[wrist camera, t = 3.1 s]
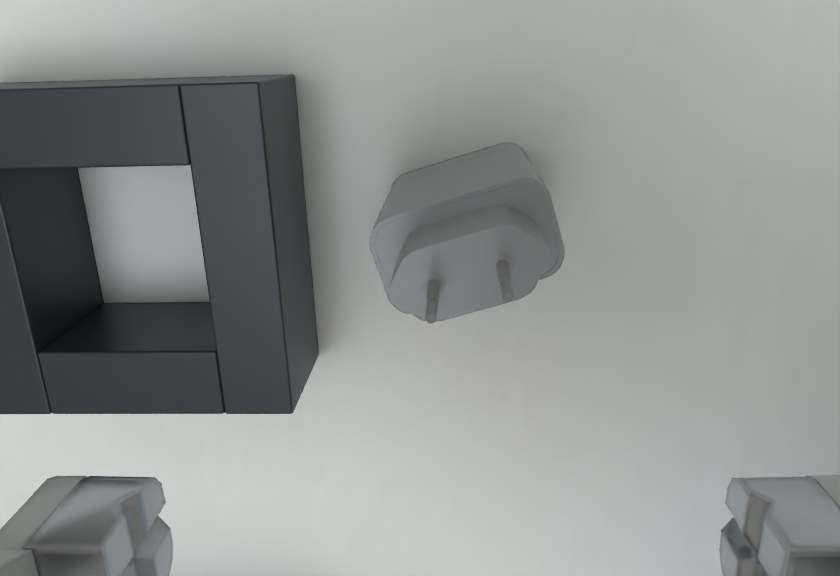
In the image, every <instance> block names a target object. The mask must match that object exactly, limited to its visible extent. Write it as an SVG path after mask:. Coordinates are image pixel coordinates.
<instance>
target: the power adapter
mask: <svg viewBox="0 0 840 576" xmlns="http://www.w3.org/2000/svg"><path fill="white" fill-rule="evenodd" d="M370 249H371V252H372V255H373V258H374V260H375V263H376V266H377V269H378V272H379V274H380V277H381V280H382V283H383V286H384V288H385V291H386V294H387V297H388V299H389V301H390V303H391V304H392V305H393V306H394V307H395V308H396V309H398V310H399V311H401V312H403V313H406V314H412V315H414V316H415V317H417V318H419V319H421V320H424V321H427V322H428V323H434V322H436V321H443V320H446V319H450V318H453V317H457V316H461V315H464V314H468V313H471V312H475V311H479V310H482V309H486V308H489V307H493V306H497V305H500V304H504V303H507V302H511V301H515V300H518V299H520V298H523V297H525V296H526V295H528V294H529V293H530V292H531V291H532V290H533V289H534V288H535V286H536V284H537V282H538V280H541V279H544V278H547V277H549V276H551V275H552V274H554V273H555V272H557V270H558V269H559V268H560V267H561V265H562V262H563V259H564V253H565V252H564V245H563V242H562V238H561V234H560V230H559V226H558V223H557V219H556V215H555V211H554V207H553V204H552V200H551V196H550V194H549V191H548V190H547V188H546V186H545V185H544V183H543V181H542V180H541V178H540V177H539V175H538V173H537V172H536V170H535V168H534V167H533V165H532V163H531V162H530V160H529V159H528V157H527V155H526V154H525V152H524V151H523V149H522V148H520V147H519V146H518V145H517V144H514V143H501V144H498V145H494V146H491V147H488V148H485V149H482V150H478V151H475V152H472V153H469V154H466V155H462V156H459V157H456V158H453V159H450V160H446V161H443V162H440V163H437V164H434V165H430V166H427V167H424V168H421V169H418V170H414V171H411V172H408V173H405V174H403V175H401V176H399V177H398V178H397V179H396V180H395V181H394V183H393V185H392V187H391V189H390V192H389V194H388V196H387V198H386V201H385V203H384V205H383V207H382V210H381V212H380V214H379V216H378V219H377V221H376V223H375V225H374V228H373V230H372V232H371V236H370Z"/></svg>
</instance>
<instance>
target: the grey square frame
mask: <svg viewBox="0 0 840 576" xmlns="http://www.w3.org/2000/svg"><path fill="white" fill-rule="evenodd" d="M190 164H191V171H192V178H193V185H194V192H195V199H196V206H197V214H198V221H199V228H200V235H201V242H202V249H203V256H204V264H205V271H206V278H207V285H208V292H209V299H210V303H123V304H103V301H102V296H101V290H100V285H99V280H98V275H97V270H96V265H95V260H94V255H93V249H92V244H91V239H90V234H89V229H88V224H87V219H86V213H85V208H84V203H83V198H82V193H81V188H80V183H79V178H78V172H77V168H83V167H127V166H172V165H190ZM318 355H319V354H318V342H317V331H316V319H315V307H314V296H313V284H312V273H311V261H310V250H309V238H308V227H307V215H306V204H305V192H304V180H303V169H302V157H301V146H300V134H299V123H298V111H297V100H296V88H295V77H294V75H292V74H289V75H256V76H229V77H226V76H222V77H188V78H155V79H121V80H88V81H59V82H58V81H54V82H21V83H0V414H50V413H53V414H215V413H227V414H291V413H293V411H294V409H295V407H296V405H297V402H298V400H299V398H300V396H301V393H302V391H303V389H304V386H305V384H306V382H307V380H308V377H309V375H310V373H311V371H312V368H313V366H314V364H315V362H316V359H317V357H318Z"/></svg>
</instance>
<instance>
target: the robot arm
mask: <svg viewBox="0 0 840 576" xmlns="http://www.w3.org/2000/svg"><path fill="white" fill-rule="evenodd" d="M165 503H166V502H165V497H164V493H163V488H162V484H161V482H159V481H158V480H157V479H156V478H155V477H109V476H89V477H86V476H56V477H52V478H49V479H47V480H46V481H45V482H44V483H43V484H42V485H41V486H40V487H39V488H38V490H37V491H36V492H35V493H34V494H33V495H32V496H31V497H30V498H29V499H28V500H27V501H26V502H25V504H24V505H23V506H22V507H21V508H20V509H19V510H18V511H17V512H16V513H15V514H14V515H13V516H12V518H11V519H10V520H9V521H8V522H7V523H6V524H5V525H4V526H3V527H2V528H1V529H0V576H169V572H170V568H171V564H172V558H173V542H172V536H171V530H170V527H169V526H168V525H167V524H166V523H165V522H164V521H163V520H162V519H161V518H160V517H159V516H158V514H159V513H160V511H161V509H162V508H163V506H164V504H165ZM725 503H726V505H727V507H728V508H729V510H730V512H731V514H732V515H733V518H732V519H731V520H730V521H729V522H728V524H727V525H726V526H725V527H724V528H723V529H722V530H721V539H720V549H719V551H720V560H721V569H722V573H723V576H840V475H821V476H806V477H759V478H732V480H731V482H730V484H729V486H728V489H727V495H726V501H725Z"/></svg>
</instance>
